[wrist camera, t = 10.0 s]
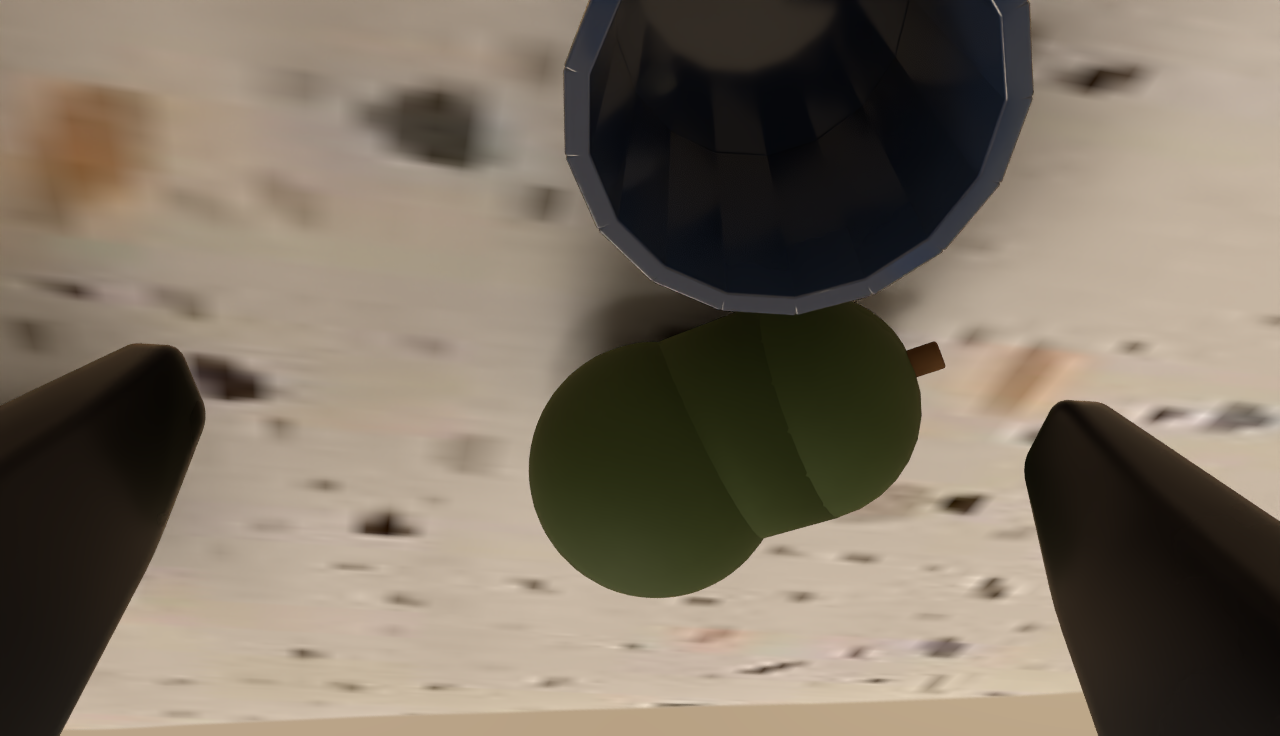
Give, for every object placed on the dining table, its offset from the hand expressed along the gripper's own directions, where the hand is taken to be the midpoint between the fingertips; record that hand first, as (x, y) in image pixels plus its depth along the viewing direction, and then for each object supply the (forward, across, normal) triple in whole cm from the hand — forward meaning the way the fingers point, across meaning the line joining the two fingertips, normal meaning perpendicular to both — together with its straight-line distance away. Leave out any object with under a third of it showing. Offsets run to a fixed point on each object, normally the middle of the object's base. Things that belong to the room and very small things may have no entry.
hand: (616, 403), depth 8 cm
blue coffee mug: (+12, -2, -3) cm, 12 cm away
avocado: (+12, -2, +9) cm, 15 cm away
